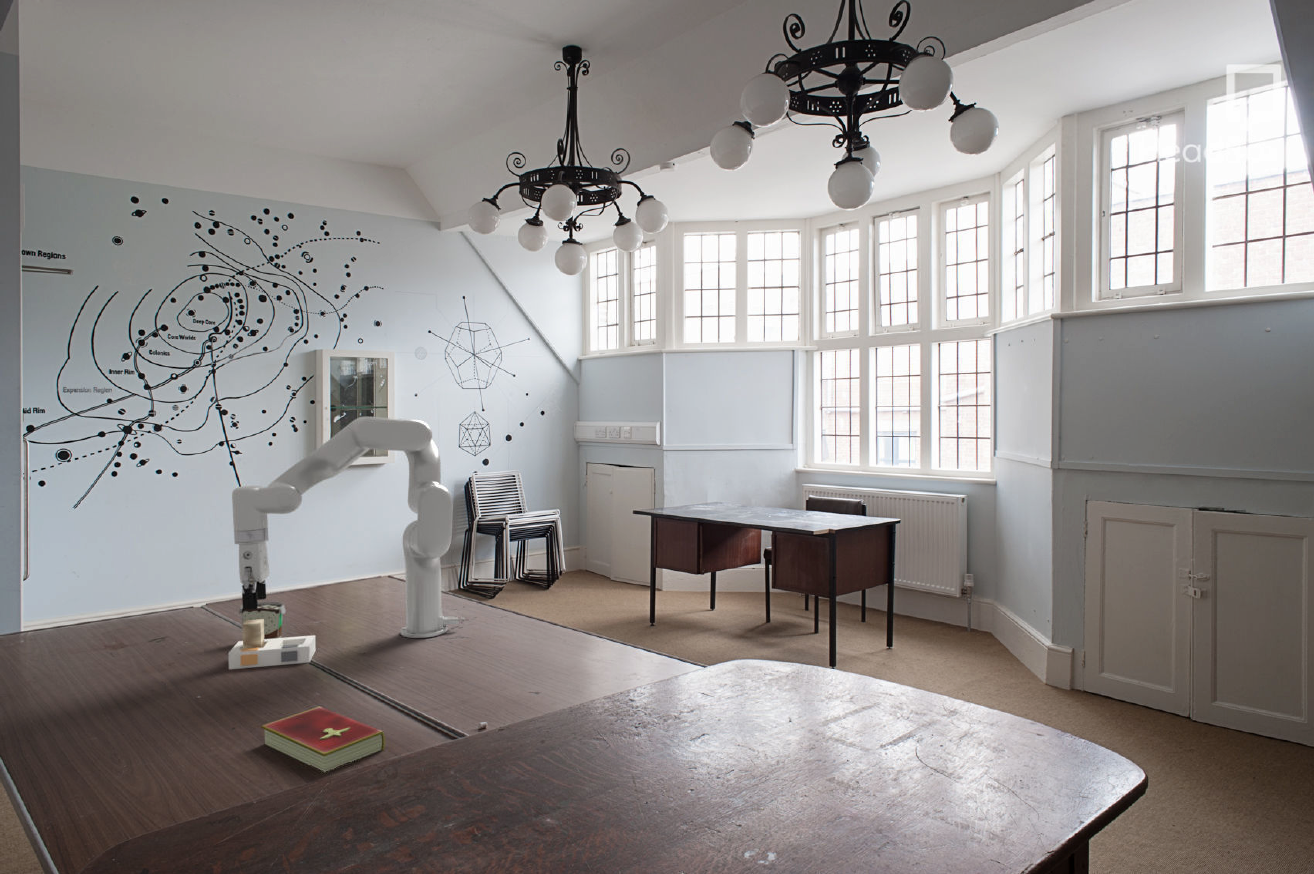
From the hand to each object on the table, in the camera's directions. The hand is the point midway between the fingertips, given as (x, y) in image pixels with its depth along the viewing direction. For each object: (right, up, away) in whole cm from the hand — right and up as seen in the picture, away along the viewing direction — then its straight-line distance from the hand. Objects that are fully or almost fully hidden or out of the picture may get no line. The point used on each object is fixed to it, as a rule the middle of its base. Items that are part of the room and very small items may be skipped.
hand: (254, 604), depth 194 cm
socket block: (+4, -14, +1) cm, 15 cm away
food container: (-6, -14, +18) cm, 24 cm away
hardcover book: (+38, -16, -50) cm, 65 cm away
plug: (0, -14, 0) cm, 14 cm away
